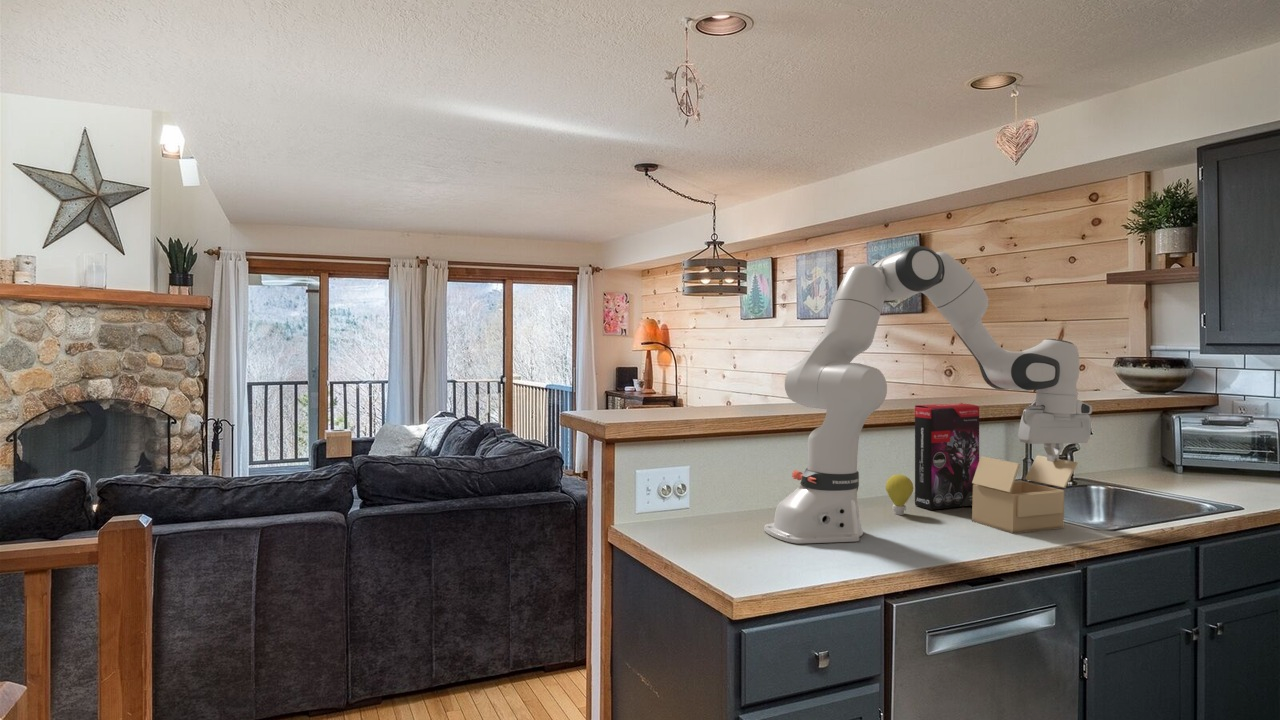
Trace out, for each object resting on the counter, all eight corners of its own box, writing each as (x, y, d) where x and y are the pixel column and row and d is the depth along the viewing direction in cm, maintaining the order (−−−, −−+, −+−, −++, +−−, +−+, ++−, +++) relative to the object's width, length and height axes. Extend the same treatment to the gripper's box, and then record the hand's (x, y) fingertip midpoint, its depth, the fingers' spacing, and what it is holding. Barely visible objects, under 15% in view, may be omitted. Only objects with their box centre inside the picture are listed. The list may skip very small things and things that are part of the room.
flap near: (973, 483, 178) (982, 456, 178) (1010, 492, 167) (1020, 464, 168) (971, 482, 177) (980, 455, 178) (1009, 492, 167) (1018, 463, 168)
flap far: (1063, 487, 173) (1076, 462, 174) (1024, 478, 183) (1037, 455, 185) (1065, 488, 173) (1077, 463, 175) (1025, 479, 184) (1038, 456, 185)
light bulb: (901, 509, 190) (902, 471, 189) (918, 515, 183) (919, 476, 183) (879, 511, 188) (880, 472, 187) (896, 517, 181) (897, 477, 181)
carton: (1015, 534, 167) (1016, 495, 166) (969, 520, 179) (970, 484, 179) (1065, 528, 172) (1066, 490, 172) (1018, 515, 185) (1019, 480, 184)
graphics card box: (930, 511, 188) (933, 406, 187) (911, 505, 195) (913, 404, 194) (980, 506, 195) (982, 404, 194) (959, 501, 201) (962, 402, 200)
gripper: (1035, 406, 172) (1032, 464, 173) (1097, 407, 179) (1093, 462, 180) (1013, 403, 178) (1010, 459, 179) (1074, 404, 185) (1070, 458, 186)
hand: (1052, 461), depth 179 cm, fingers closed
